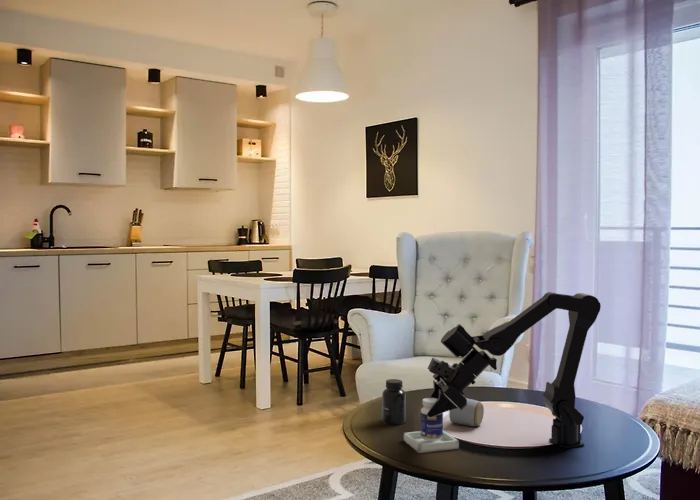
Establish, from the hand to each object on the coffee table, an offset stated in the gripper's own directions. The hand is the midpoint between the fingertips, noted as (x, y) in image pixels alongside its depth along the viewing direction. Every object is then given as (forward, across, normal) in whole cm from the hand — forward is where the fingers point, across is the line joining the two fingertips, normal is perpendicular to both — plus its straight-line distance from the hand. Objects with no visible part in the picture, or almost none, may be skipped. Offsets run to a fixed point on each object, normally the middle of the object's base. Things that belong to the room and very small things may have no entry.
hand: (426, 412), depth 162 cm
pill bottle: (+4, 0, +6) cm, 7 cm away
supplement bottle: (+11, -20, +1) cm, 22 cm away
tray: (+5, 0, +7) cm, 8 cm away
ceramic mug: (-4, -18, +16) cm, 25 cm away
